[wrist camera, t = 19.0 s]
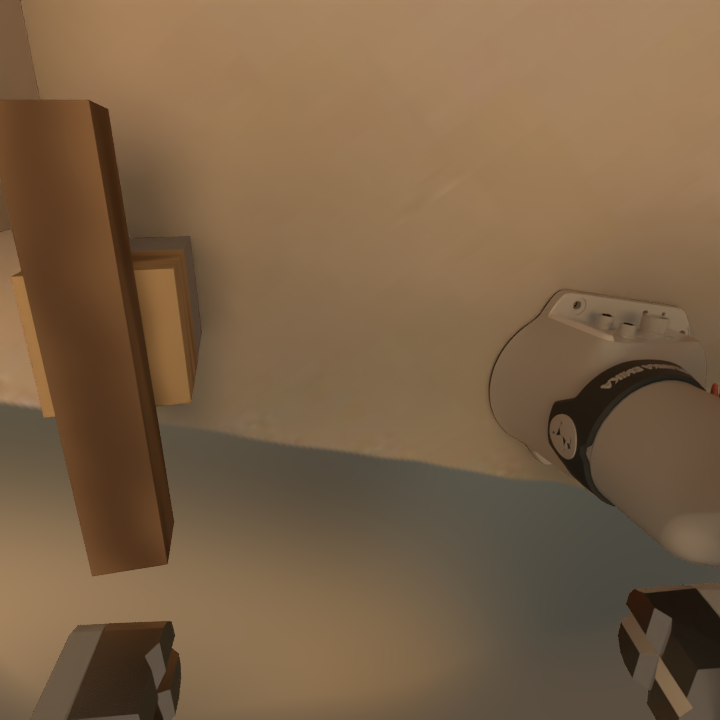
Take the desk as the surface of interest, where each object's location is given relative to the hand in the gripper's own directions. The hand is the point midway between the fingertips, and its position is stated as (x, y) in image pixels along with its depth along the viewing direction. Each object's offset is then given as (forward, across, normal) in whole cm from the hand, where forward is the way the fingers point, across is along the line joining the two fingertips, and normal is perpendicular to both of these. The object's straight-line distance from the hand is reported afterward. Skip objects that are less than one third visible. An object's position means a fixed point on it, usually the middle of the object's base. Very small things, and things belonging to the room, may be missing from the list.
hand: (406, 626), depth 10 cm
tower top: (+29, +14, +4) cm, 33 cm away
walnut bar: (+22, +13, +3) cm, 26 cm away
